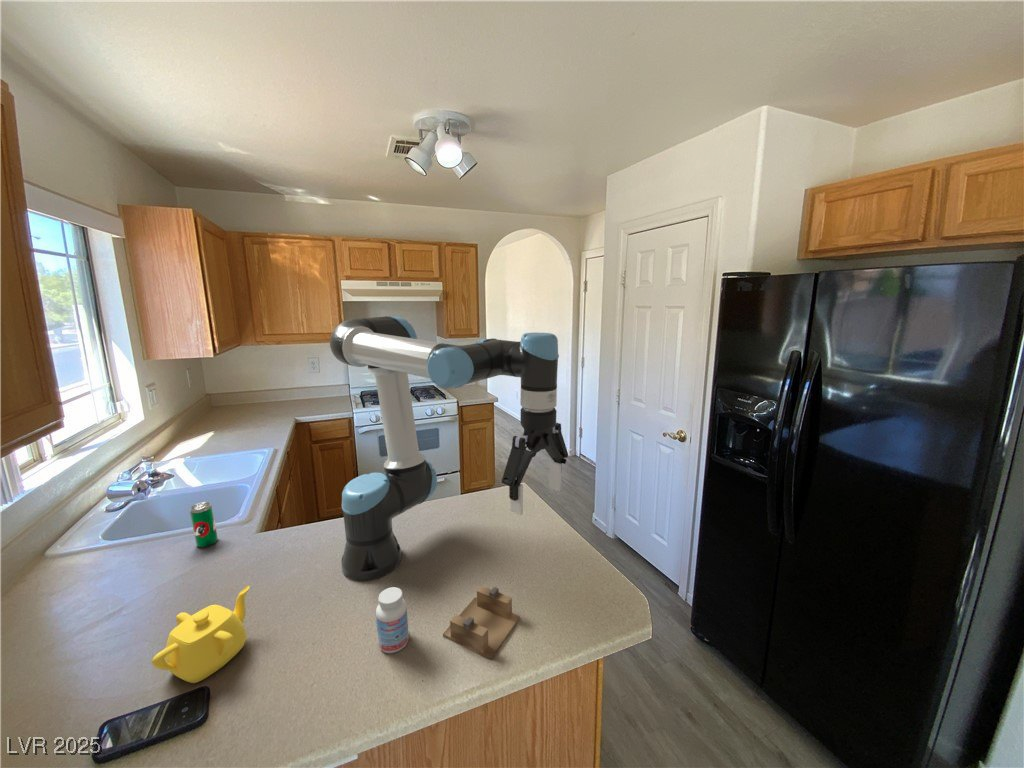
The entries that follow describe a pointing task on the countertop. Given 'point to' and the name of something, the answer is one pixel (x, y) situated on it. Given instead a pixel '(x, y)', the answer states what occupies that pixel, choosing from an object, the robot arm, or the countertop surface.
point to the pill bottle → (392, 620)
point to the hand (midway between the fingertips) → (536, 500)
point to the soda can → (203, 524)
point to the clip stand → (484, 623)
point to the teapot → (204, 641)
